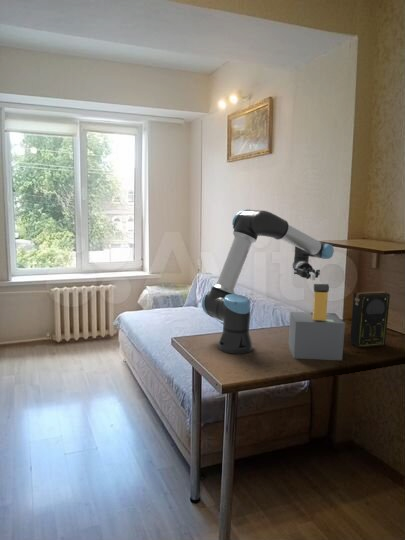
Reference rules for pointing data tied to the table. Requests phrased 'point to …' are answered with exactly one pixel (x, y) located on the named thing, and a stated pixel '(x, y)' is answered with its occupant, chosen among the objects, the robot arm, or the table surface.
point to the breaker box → (316, 336)
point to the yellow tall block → (320, 301)
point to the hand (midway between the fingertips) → (313, 277)
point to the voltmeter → (369, 319)
